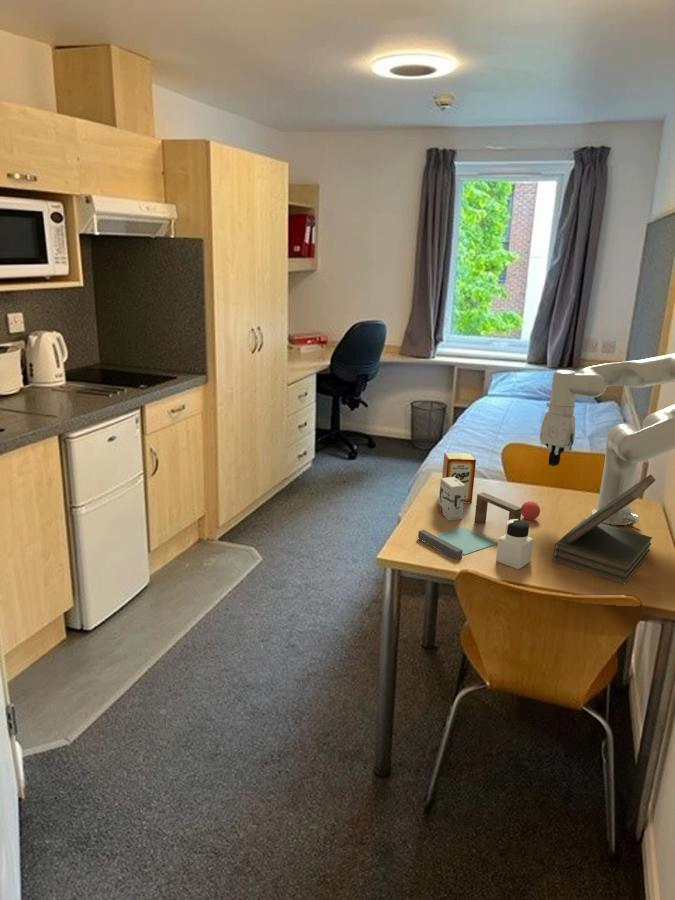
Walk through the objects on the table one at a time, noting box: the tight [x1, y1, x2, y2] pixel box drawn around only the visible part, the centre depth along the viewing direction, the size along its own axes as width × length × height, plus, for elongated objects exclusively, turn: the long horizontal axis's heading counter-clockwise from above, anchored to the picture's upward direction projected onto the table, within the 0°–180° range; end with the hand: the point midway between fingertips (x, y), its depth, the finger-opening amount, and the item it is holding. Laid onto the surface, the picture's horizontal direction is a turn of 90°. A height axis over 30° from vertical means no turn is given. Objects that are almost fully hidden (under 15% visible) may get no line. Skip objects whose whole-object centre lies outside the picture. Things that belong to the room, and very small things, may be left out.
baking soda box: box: [441, 452, 477, 504], centre depth 222 cm, size 10×6×16 cm
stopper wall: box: [417, 529, 463, 560], centre depth 187 cm, size 16×2×2 cm, turn 35°
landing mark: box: [435, 526, 498, 556], centre depth 193 cm, size 14×14×1 cm
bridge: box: [473, 492, 522, 526], centre depth 199 cm, size 3×15×10 cm, turn 35°
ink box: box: [437, 477, 465, 521], centre depth 209 cm, size 9×5×12 cm, turn 18°
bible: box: [552, 474, 656, 584], centre depth 181 cm, size 23×20×25 cm
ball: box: [520, 500, 541, 521], centre depth 209 cm, size 6×6×6 cm
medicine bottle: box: [495, 519, 534, 570], centre depth 179 cm, size 7×7×12 cm
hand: (553, 464), depth 210 cm, fingers closed
